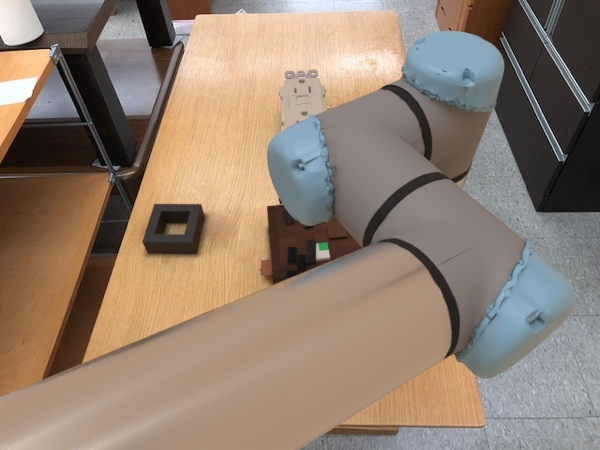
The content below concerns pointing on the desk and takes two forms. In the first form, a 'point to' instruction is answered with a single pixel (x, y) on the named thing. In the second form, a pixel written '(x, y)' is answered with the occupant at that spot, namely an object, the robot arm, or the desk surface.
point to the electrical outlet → (301, 97)
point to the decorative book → (302, 244)
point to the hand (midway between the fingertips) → (392, 301)
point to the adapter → (174, 242)
